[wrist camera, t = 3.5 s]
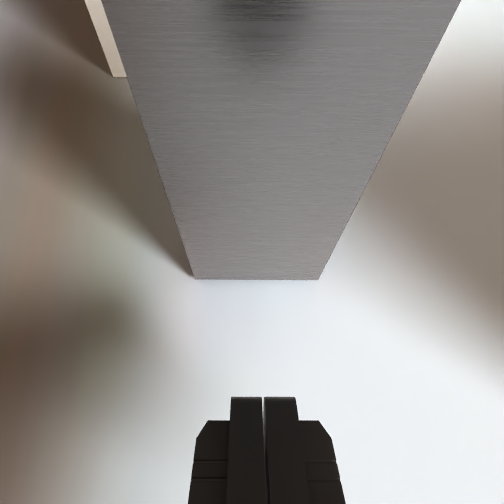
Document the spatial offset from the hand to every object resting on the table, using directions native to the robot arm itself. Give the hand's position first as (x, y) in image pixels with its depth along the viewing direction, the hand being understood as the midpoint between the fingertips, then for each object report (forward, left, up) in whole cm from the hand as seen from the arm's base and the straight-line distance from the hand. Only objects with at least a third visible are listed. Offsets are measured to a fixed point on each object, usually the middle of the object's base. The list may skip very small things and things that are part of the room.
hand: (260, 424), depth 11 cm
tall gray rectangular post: (-9, +9, -6) cm, 14 cm away
